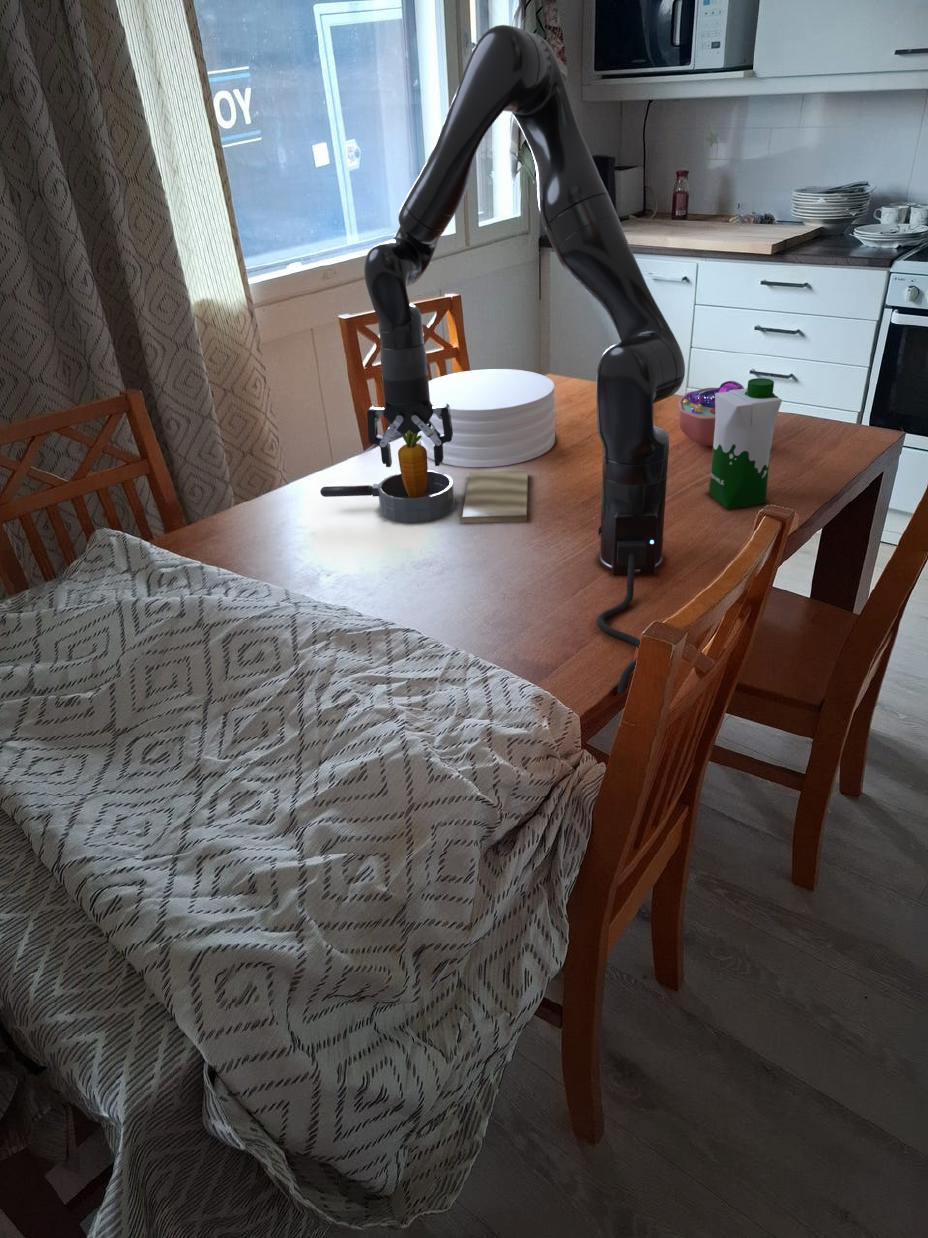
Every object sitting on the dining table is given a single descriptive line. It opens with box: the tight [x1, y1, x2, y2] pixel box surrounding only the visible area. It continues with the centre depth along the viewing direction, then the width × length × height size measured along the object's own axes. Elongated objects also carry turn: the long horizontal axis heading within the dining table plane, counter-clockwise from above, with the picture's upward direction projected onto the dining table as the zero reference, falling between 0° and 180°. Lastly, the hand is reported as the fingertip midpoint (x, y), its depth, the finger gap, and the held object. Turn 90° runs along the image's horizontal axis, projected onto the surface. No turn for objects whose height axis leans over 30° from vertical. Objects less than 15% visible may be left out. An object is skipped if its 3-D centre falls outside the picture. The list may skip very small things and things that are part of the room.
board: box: [461, 470, 529, 524], centre depth 154 cm, size 20×11×1 cm, turn 176°
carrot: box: [397, 430, 429, 498], centre depth 149 cm, size 5×5×15 cm
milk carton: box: [708, 377, 783, 510], centre depth 143 cm, size 9×9×20 cm
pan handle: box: [320, 483, 379, 498], centre depth 152 cm, size 11×2×2 cm, turn 86°
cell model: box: [677, 380, 745, 447], centre depth 168 cm, size 17×20×11 cm
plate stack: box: [419, 368, 556, 468], centre depth 177 cm, size 28×28×12 cm
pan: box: [378, 469, 456, 525], centre depth 152 cm, size 13×13×4 cm
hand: (413, 465), depth 149 cm, fingers open, 8 cm apart
